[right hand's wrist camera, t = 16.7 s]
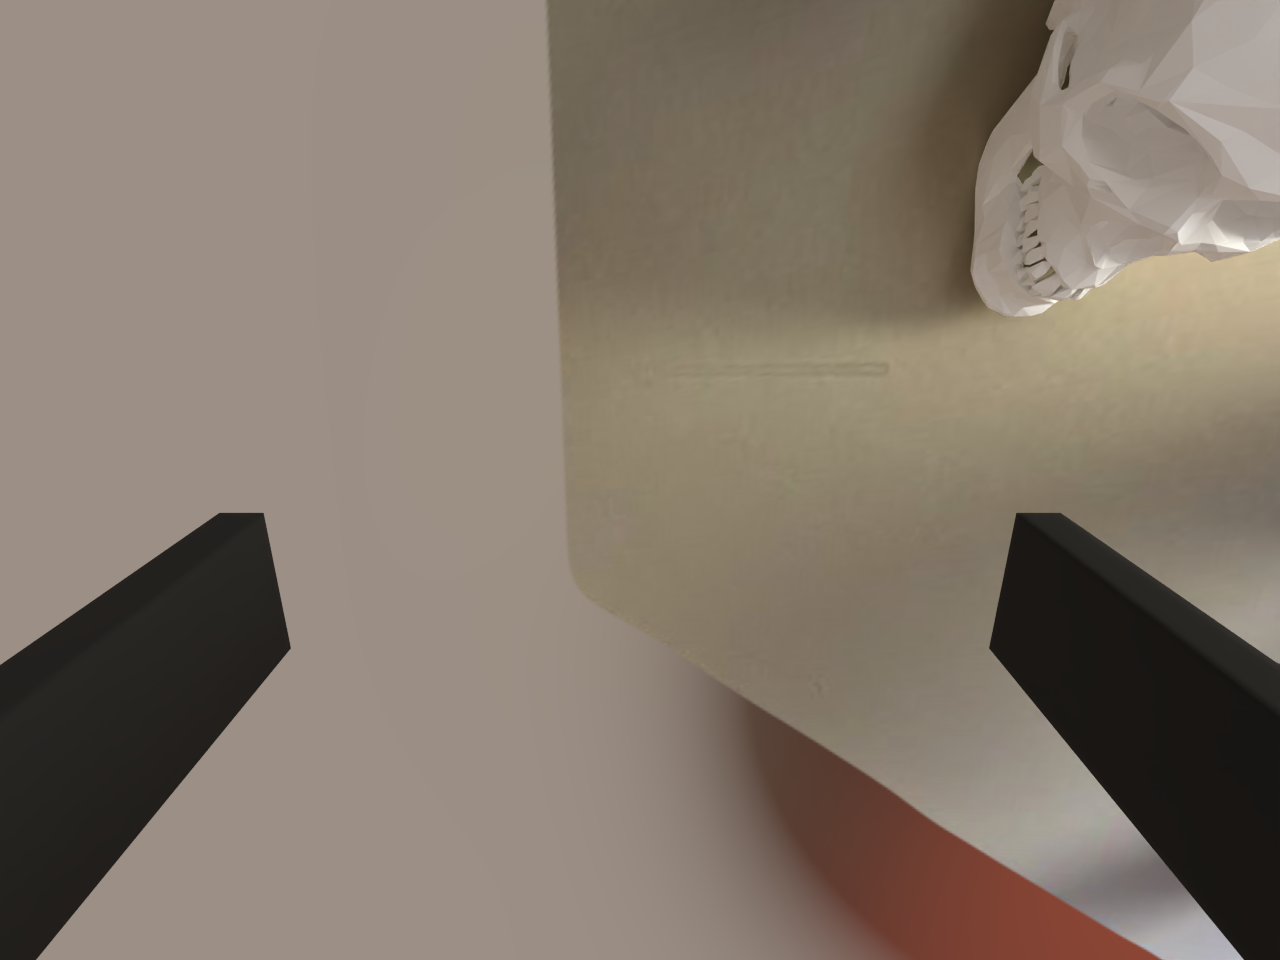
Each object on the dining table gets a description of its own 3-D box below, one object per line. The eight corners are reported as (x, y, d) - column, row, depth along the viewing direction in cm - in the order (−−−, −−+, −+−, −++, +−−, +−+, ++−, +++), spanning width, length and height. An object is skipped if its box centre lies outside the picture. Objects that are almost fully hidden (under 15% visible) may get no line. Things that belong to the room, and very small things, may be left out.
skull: (883, 269, 38) (1054, 306, 23) (1122, -214, 31) (1588, -606, 16) (1087, 358, 40) (1363, 444, 25) (1353, -75, 33) (1953, -308, 18)
